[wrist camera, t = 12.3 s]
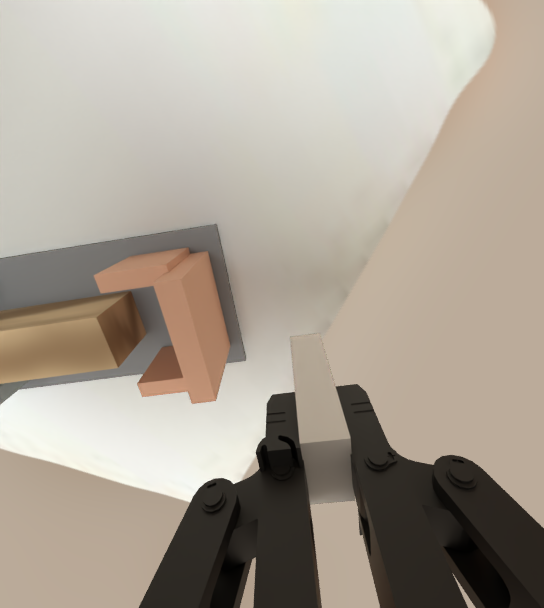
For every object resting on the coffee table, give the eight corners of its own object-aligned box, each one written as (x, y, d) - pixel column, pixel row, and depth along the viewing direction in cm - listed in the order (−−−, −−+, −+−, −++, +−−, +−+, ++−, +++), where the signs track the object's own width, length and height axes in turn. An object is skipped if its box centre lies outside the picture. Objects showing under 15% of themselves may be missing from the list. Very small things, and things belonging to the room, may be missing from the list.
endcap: (130, 256, 23) (72, 286, 16) (206, 244, 22) (178, 270, 16) (165, 358, 26) (130, 417, 20) (231, 350, 26) (217, 406, 19)
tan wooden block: (-40, 316, 25) (-111, 347, 20) (130, 290, 24) (96, 317, 19) (-14, 356, 26) (-76, 394, 22) (146, 333, 25) (118, 367, 21)
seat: (-99, 274, 24) (-196, 298, 19) (216, 224, 22) (199, 236, 17) (-20, 392, 28) (-82, 437, 23) (245, 358, 27) (239, 398, 22)
